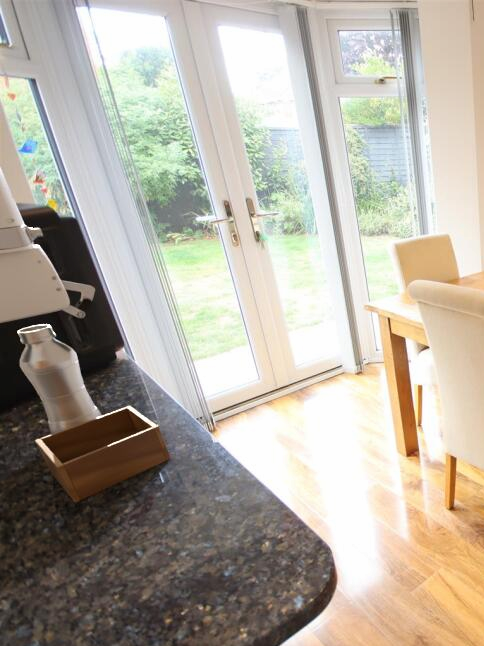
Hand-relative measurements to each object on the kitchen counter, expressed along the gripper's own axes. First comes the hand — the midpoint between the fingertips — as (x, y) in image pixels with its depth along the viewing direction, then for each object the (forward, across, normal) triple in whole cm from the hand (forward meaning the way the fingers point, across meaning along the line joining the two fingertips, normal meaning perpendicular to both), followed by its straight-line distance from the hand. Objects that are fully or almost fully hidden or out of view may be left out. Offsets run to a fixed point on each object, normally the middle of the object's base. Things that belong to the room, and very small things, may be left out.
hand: (43, 350), depth 72 cm
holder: (+16, 0, +14) cm, 21 cm away
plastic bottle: (+16, 0, 0) cm, 17 cm away
